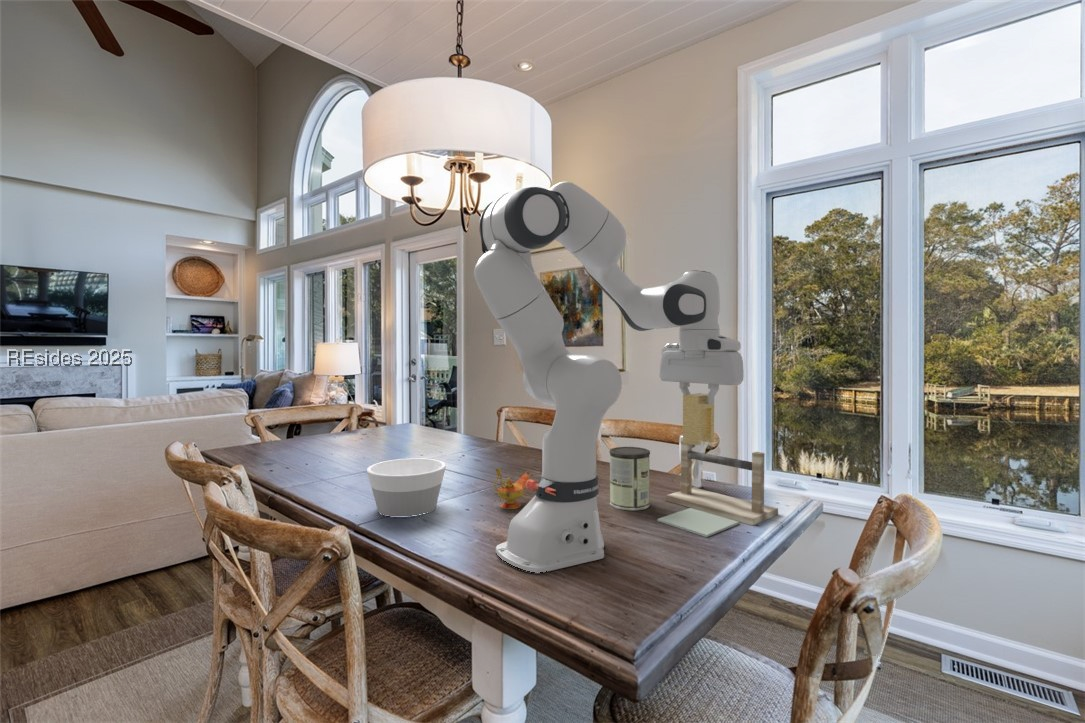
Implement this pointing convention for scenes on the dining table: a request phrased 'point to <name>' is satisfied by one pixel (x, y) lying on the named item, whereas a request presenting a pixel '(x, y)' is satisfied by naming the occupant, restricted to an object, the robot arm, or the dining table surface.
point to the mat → (698, 522)
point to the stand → (718, 502)
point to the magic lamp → (511, 490)
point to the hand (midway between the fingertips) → (698, 403)
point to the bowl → (406, 485)
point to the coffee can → (629, 478)
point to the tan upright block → (697, 419)
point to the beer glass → (694, 464)
